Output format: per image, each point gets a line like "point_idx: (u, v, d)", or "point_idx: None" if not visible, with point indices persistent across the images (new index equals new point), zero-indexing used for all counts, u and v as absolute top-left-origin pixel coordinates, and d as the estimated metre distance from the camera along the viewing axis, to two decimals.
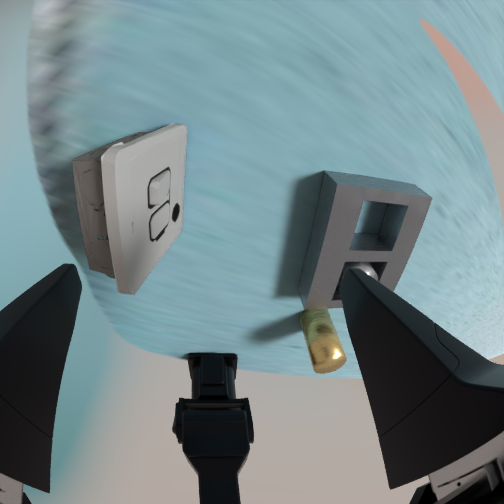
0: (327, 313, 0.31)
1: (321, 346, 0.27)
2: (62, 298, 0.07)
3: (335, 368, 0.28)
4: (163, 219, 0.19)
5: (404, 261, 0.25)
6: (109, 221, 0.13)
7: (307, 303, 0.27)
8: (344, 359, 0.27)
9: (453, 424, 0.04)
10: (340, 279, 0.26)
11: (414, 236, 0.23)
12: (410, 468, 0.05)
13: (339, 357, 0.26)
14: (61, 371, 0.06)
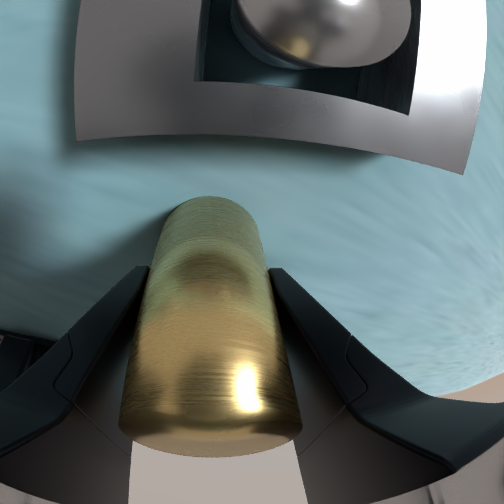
0: (243, 219, 0.09)
1: (151, 339, 0.05)
2: None
3: (254, 448, 0.05)
4: None
5: None
6: None
7: (79, 104, 0.04)
8: (290, 424, 0.04)
9: (352, 463, 0.04)
10: None
11: None
12: (322, 497, 0.04)
13: (246, 416, 0.04)
14: None
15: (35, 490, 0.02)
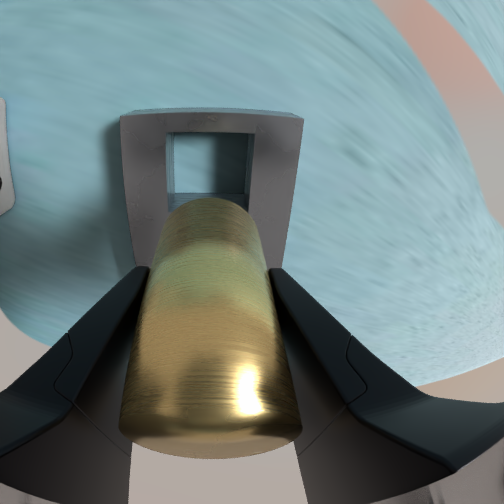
0: (243, 220, 0.09)
1: (150, 341, 0.05)
2: None
3: (254, 450, 0.05)
4: None
5: (281, 229, 0.18)
6: None
7: None
8: (290, 426, 0.04)
9: (353, 464, 0.04)
10: None
11: (286, 187, 0.16)
12: (322, 497, 0.04)
13: (247, 419, 0.04)
14: None
15: (35, 489, 0.02)
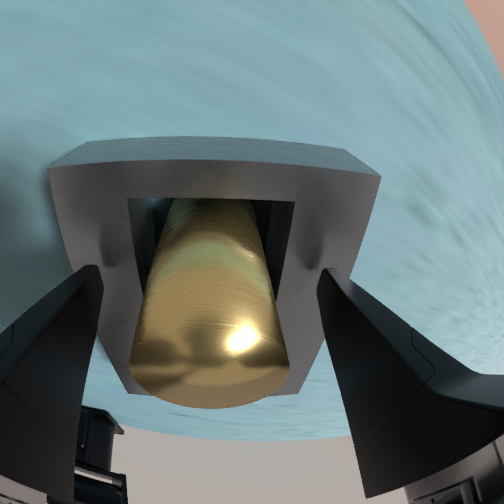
0: (240, 200, 0.10)
1: (161, 286, 0.06)
2: (86, 300, 0.07)
3: (248, 396, 0.06)
4: None
5: (318, 332, 0.12)
6: None
7: (126, 387, 0.13)
8: (278, 361, 0.06)
9: (426, 437, 0.04)
10: None
11: None
12: (384, 478, 0.05)
13: (240, 346, 0.05)
14: (85, 376, 0.06)
15: None
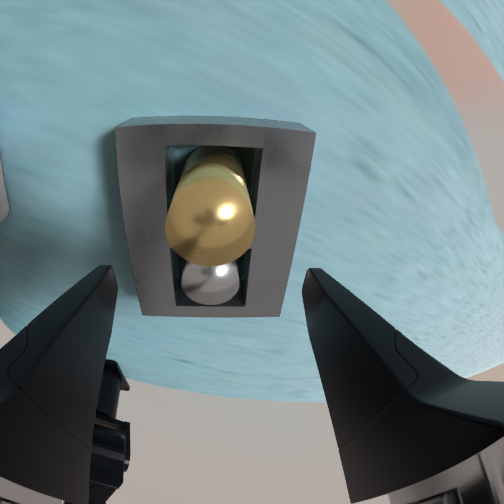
0: (231, 154, 0.15)
1: (187, 181, 0.11)
2: (102, 301, 0.07)
3: (233, 251, 0.12)
4: None
5: (287, 248, 0.17)
6: None
7: (142, 307, 0.18)
8: (248, 216, 0.11)
9: (408, 444, 0.04)
10: None
11: (294, 205, 0.15)
12: (368, 484, 0.05)
13: (227, 201, 0.10)
14: (100, 378, 0.07)
15: None
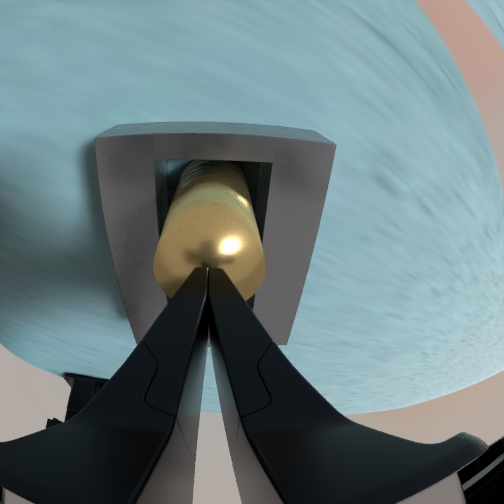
0: (234, 167, 0.13)
1: (179, 209, 0.09)
2: None
3: None
4: None
5: (298, 276, 0.15)
6: None
7: (136, 336, 0.16)
8: (256, 255, 0.09)
9: (251, 482, 0.03)
10: None
11: (308, 229, 0.13)
12: None
13: (230, 238, 0.08)
14: (202, 386, 0.07)
15: None
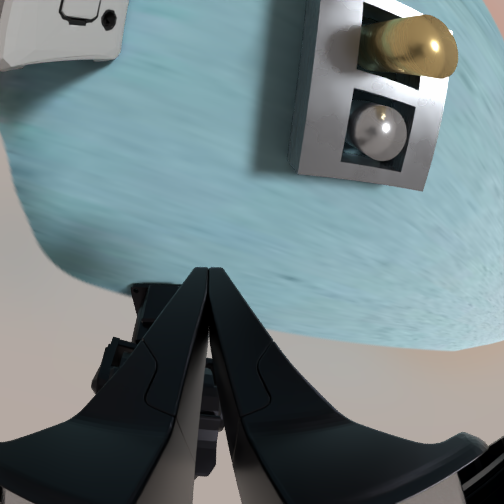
0: None
1: (405, 17, 0.09)
2: None
3: (446, 70, 0.09)
4: (86, 5, 0.08)
5: (438, 114, 0.14)
6: None
7: (302, 161, 0.16)
8: (454, 47, 0.08)
9: (252, 481, 0.03)
10: (350, 129, 0.16)
11: None
12: None
13: (444, 31, 0.08)
14: (202, 386, 0.07)
15: None
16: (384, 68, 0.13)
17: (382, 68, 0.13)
